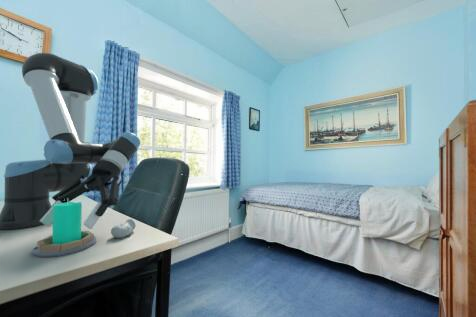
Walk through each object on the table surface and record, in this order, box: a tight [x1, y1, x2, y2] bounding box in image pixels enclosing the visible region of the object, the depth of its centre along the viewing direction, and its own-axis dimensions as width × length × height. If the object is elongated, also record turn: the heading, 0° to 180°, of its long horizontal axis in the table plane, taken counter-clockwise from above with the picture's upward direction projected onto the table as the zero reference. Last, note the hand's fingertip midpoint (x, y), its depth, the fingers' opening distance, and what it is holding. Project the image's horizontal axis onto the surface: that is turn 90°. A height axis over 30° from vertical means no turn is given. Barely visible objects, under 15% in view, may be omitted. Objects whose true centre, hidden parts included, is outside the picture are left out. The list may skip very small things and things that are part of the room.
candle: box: [52, 198, 83, 244], centre depth 56 cm, size 6×6×12 cm
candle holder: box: [32, 230, 97, 258], centre depth 56 cm, size 13×13×2 cm
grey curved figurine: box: [110, 218, 136, 239], centre depth 65 cm, size 4×8×5 cm
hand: (65, 225), depth 55 cm, fingers open, 13 cm apart
